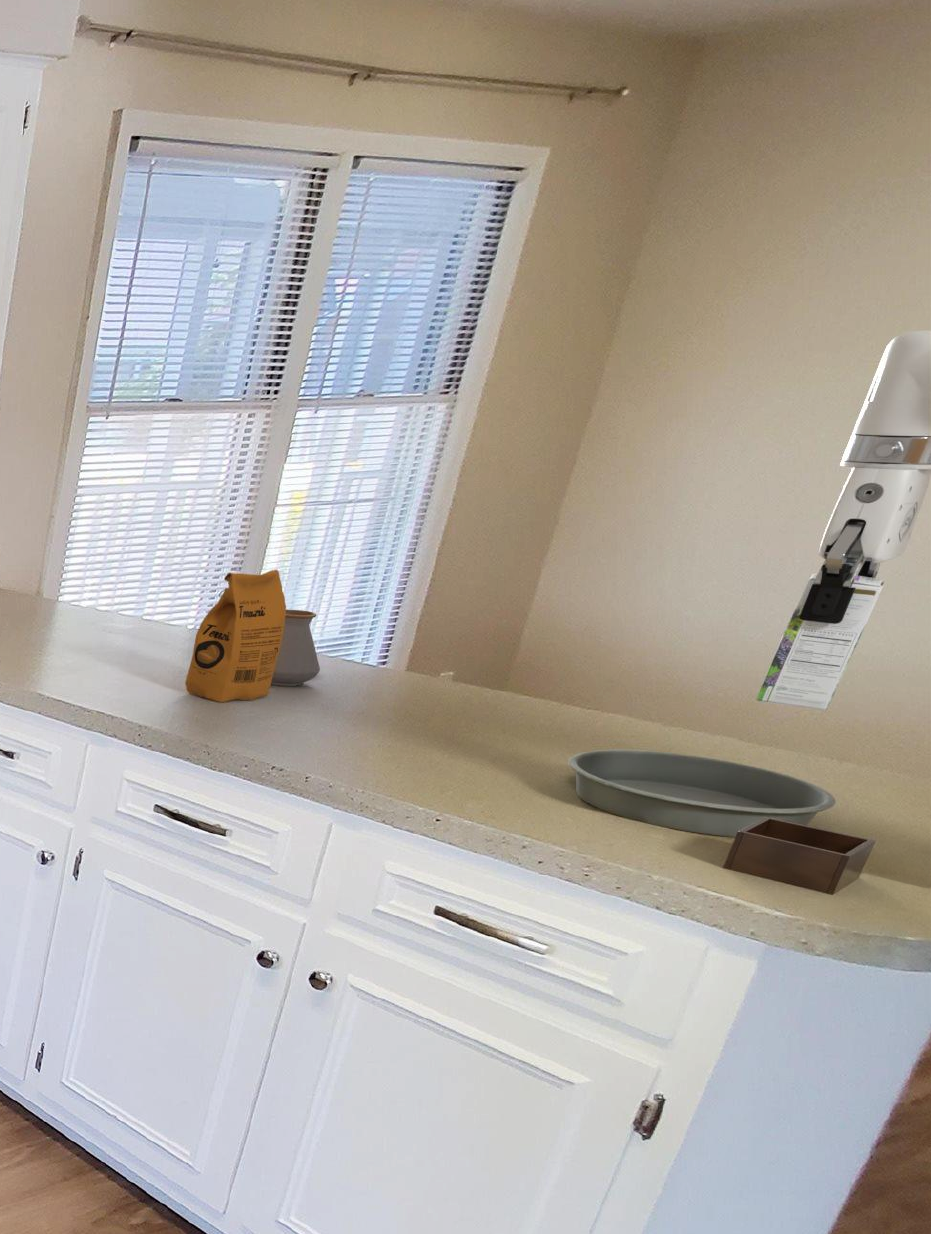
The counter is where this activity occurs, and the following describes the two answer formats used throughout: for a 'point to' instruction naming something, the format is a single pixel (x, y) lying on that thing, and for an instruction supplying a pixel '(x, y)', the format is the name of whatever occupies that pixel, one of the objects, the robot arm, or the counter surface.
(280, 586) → the coffee package
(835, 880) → the caddy
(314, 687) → the counter surface
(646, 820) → the cake pan
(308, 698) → the counter surface
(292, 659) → the coffee pot
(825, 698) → the syrup box
